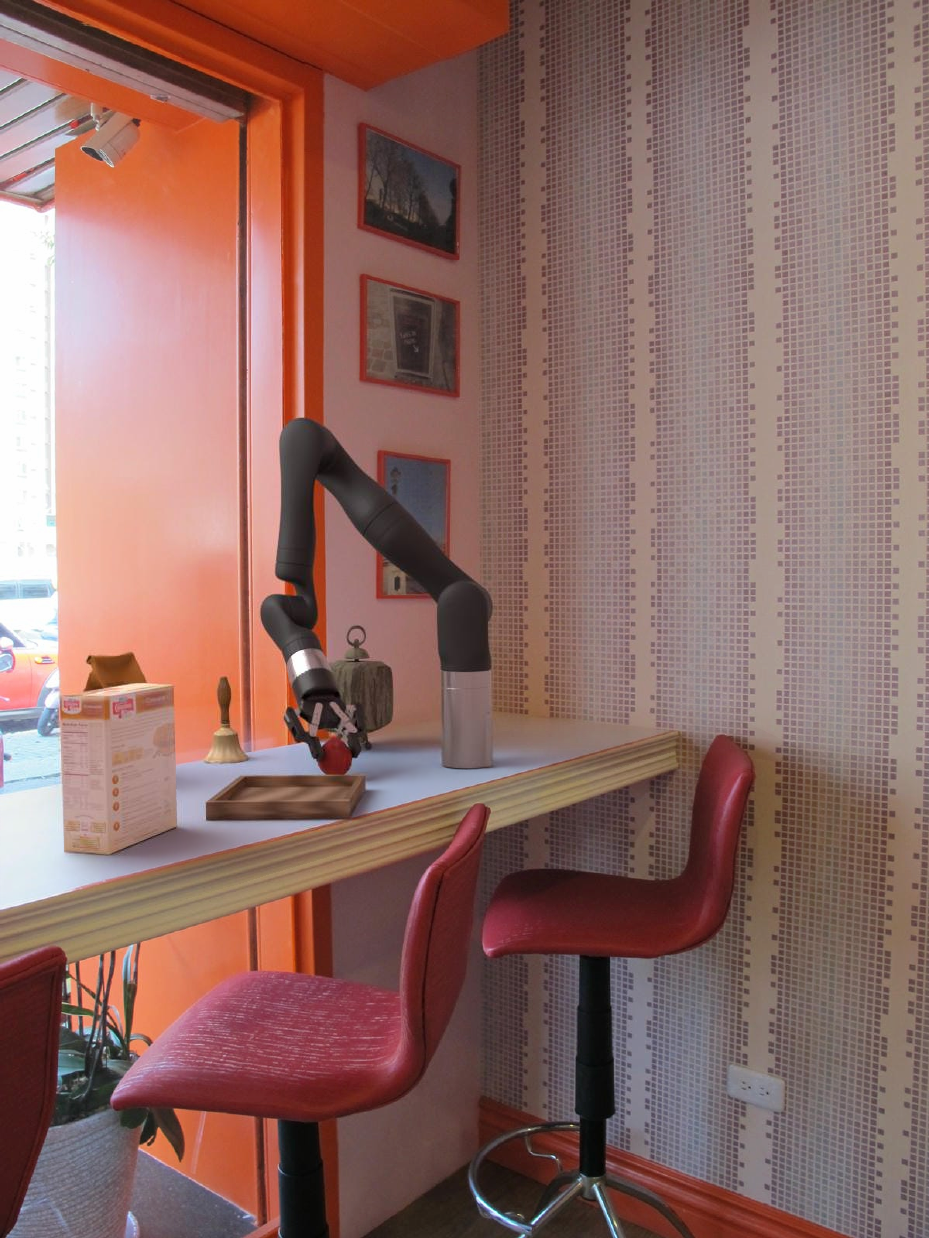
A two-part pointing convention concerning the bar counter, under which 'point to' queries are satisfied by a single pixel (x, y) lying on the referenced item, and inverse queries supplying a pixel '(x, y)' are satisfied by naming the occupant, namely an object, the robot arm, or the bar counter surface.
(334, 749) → the onion
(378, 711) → the tabletop clock
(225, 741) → the hand bell
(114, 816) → the coffeecake box
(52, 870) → the bar counter surface
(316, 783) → the walnut tray
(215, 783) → the bar counter surface
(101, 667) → the coffee package
